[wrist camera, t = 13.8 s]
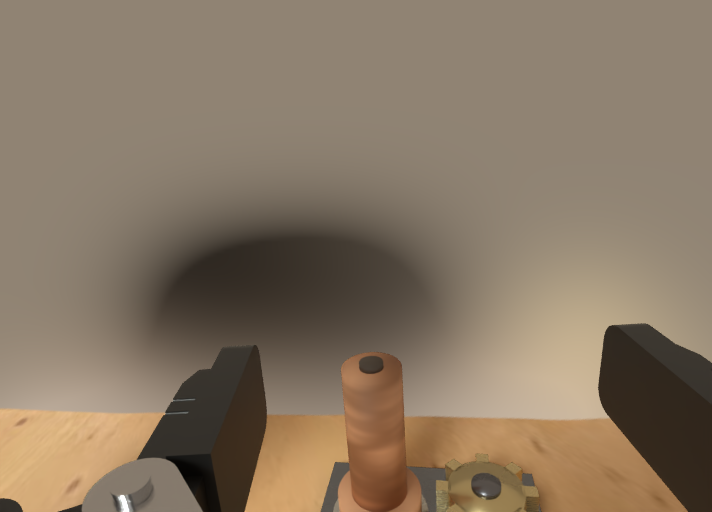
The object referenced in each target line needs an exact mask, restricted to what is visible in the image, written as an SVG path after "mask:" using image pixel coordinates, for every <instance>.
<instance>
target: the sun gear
mask: <svg viewBox="0 0 712 512" xmlns="http://www.w3.org/2000/svg"><path fill="white" fill-rule="evenodd" d="M445 468H446V481H441V480H436V505H437V512H539V494H538V490H537V487H534V486H524V485H523V483H522V468H520V467H519V466H517V465H516V464H514V463H513V462H511V463H510V464H508V465H507V466H505V467H503V466H501V465H498V464H495V463H491V462H489V459H488V454H476V462H469V463H466V464H463V465H462V464H461V463H459V462H458V461H456V460H455V459H453V460H451V461H450V462H448V463H447V464H445Z"/></svg>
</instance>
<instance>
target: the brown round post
mask: <svg viewBox="0 0 712 512" xmlns="http://www.w3.org/2000/svg"><path fill="white" fill-rule="evenodd" d="M341 375H342V387H343V398H344V409H345V421H346V433H347V444H348V456H349V467H350V471H348V472H347V473H346V474H345V475H344V477H343V478H342V480H341V482H340V484H339V488H338V501H339V511H340V512H422V498H421V485H420V482H419V480H418V478H417V477H416V475H415V474H414V473H413V472H412V471H411V470H410V469H408V468H407V467H406V450H405V427H404V404H403V381H402V365H401V362H400V361H399V360H398V359H397V358H395V357H394V356H392V355H389V354H385V353H379V352H369V353H362V354H359V355H355V356H353V357H351V358H349V359H348V360H346V361H345V362H344V363H343V365H342V367H341Z"/></svg>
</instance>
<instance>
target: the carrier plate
mask: <svg viewBox="0 0 712 512" xmlns="http://www.w3.org/2000/svg"><path fill="white" fill-rule="evenodd" d="M406 467H407V466H406ZM407 468H408V469H410V470H411V471H412V472H413V473H414V474H415V475H416V477H417V478H418V480H419V482H420V485H421V498H422V512H437V505H436V480H441V481H446V469H441V468H424V467H407ZM348 471H350V467H349V463H340V462H335V464H334V468H333V471H332V474H331V478H330V481H329V485H328V488H327V492H326V495H325V499H324V502H323V506H322V509H321V512H340V511H339V501H338V488H339V484H340V482H341V480H342V478H343V477H344V475H345V474H346V473H347V472H348ZM522 483H523V485H524V486H534V487H535V485H534V481H533V477H532V474H524V473H522ZM539 512H541V508H540V504H539Z"/></svg>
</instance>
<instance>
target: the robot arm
mask: <svg viewBox="0 0 712 512" xmlns="http://www.w3.org/2000/svg"><path fill="white" fill-rule="evenodd" d="M598 390H599V397H600V401H601V404H602V406H603V408H604V410H605V412H606V413H607V415H608V416H609V417H610V418H611V420H612V421H613V422H614V423H615V424H616V426H617V427H618V428H619V429H620V430H621V432H622V433H623V434H624V435H625V436H626V438H627V439H628V440H629V441H630V442H631V444H632V445H633V446H634V447H635V448H636V450H637V451H638V452H639V453H640V454H641V456H642V457H643V458H644V459H645V460H646V461H647V463H648V464H649V465H650V466H651V467H652V469H653V470H654V471H655V472H656V473H657V475H658V476H659V477H660V478H661V479H662V481H663V482H664V483H665V484H666V485H667V487H668V488H669V489H670V490H671V491H672V493H673V494H674V495H675V496H676V497H677V499H678V500H679V501H680V502H681V503H682V505H683V506H684V507H685V508H686V509H687V511H688V512H712V363H711V362H710V361H708V360H707V359H705V358H704V357H702V356H701V355H699V354H697V353H695V352H693V351H690V350H688V349H686V348H683V347H681V346H679V345H677V344H675V343H673V342H672V341H670V340H669V339H668V338H666V337H665V336H663V335H662V334H661V333H660V332H658V331H657V330H655V329H654V328H653V327H651V326H650V325H648V324H628V325H627V324H626V325H612V326H609V327H608V328H607V330H606V332H605V335H604V342H603V351H602V359H601V367H600V377H599V387H598ZM266 419H267V409H266V399H265V391H264V384H263V377H262V370H261V363H260V355H259V350H258V348H257V346H256V345H246V346H229V347H223V348H222V349H221V351H220V353H219V355H218V357H217V359H216V361H215V363H214V365H213V366H212V368H211V369H206V370H199V371H197V372H196V373H195V374H194V375H193V376H191V377H190V378H189V379H187V380H186V381H185V382H184V383H183V384H182V385H181V387H180V389H179V390H178V392H177V393H176V395H175V397H174V398H173V402H171V403H170V405H169V407H168V408H167V410H166V412H165V415H163V417H162V418H161V420H160V422H159V423H158V425H157V427H156V428H155V430H154V432H153V433H152V435H151V437H150V438H149V440H148V442H147V443H146V445H145V447H144V448H143V450H142V452H141V453H140V455H139V457H138V458H137V460H135V461H132V462H129V463H127V464H124V465H122V466H120V467H118V468H116V469H114V470H112V471H111V472H109V473H108V474H106V475H105V476H104V477H102V478H101V479H100V480H99V481H98V482H97V483H95V484H94V486H93V487H92V488H91V489H90V490H89V492H88V493H87V495H86V497H85V499H84V501H83V504H81V505H78V506H75V507H72V508H69V509H66V510H62V511H59V512H244V511H245V507H246V503H247V500H248V496H249V492H250V488H251V484H252V480H253V476H254V472H255V469H256V465H257V461H258V457H259V453H260V449H261V445H262V441H263V438H264V434H265V429H266ZM0 512H23V510H22V508H21V506H20V504H18V503H17V502H16V501H14V500H11V499H4V498H1V499H0Z"/></svg>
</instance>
